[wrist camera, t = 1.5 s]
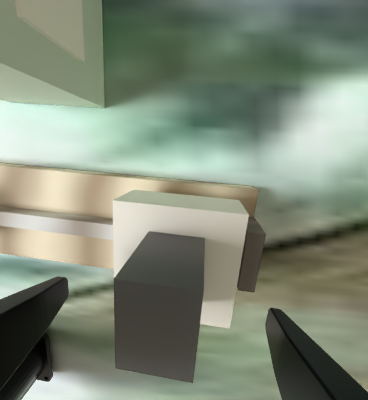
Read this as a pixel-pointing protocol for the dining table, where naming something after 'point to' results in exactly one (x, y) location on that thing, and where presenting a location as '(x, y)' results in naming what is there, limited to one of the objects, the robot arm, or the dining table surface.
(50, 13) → the red push button box
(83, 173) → the rail board
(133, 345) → the carriage
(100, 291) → the dining table surface
